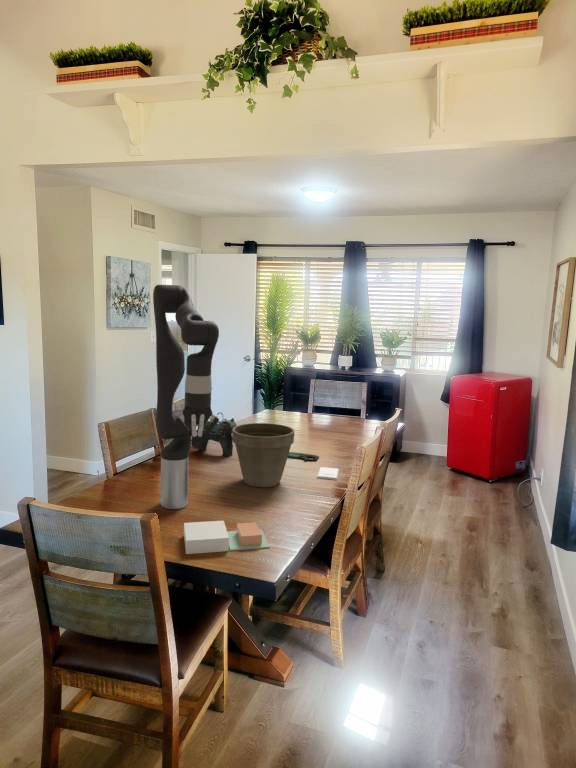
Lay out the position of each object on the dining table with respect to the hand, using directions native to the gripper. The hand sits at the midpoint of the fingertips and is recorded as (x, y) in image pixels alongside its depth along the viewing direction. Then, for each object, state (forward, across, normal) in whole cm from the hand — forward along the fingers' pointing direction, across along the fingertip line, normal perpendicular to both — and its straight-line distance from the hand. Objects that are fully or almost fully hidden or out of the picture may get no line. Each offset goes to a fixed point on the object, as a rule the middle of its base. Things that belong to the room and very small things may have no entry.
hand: (196, 448), depth 150 cm
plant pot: (+28, -31, -46) cm, 62 cm away
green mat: (+27, -15, +5) cm, 32 cm away
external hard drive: (+29, -61, -51) cm, 84 cm away
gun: (+29, -56, -76) cm, 98 cm away
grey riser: (+28, -3, +5) cm, 28 cm away
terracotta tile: (+25, -16, +5) cm, 30 cm away
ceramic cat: (+29, -17, -87) cm, 93 cm away
